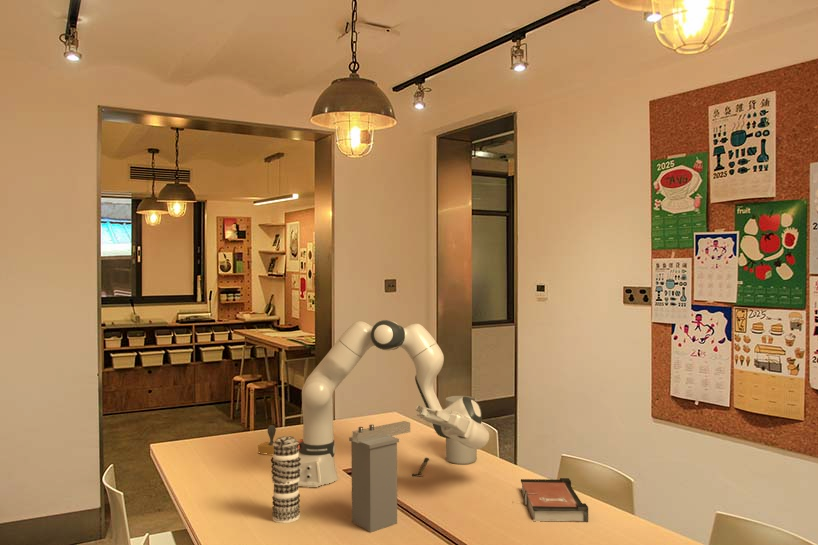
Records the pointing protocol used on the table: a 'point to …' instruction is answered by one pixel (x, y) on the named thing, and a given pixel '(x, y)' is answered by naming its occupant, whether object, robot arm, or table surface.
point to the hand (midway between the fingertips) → (426, 410)
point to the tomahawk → (421, 468)
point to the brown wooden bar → (380, 431)
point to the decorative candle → (285, 480)
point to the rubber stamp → (268, 446)
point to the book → (553, 501)
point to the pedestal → (374, 483)
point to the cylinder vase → (458, 444)
